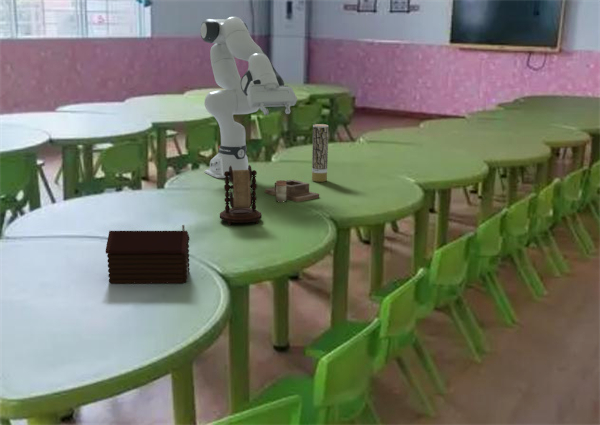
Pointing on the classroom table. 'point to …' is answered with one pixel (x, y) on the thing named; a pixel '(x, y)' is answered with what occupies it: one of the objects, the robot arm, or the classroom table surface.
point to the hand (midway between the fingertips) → (277, 113)
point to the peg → (280, 190)
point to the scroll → (240, 197)
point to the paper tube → (320, 152)
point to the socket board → (295, 191)
